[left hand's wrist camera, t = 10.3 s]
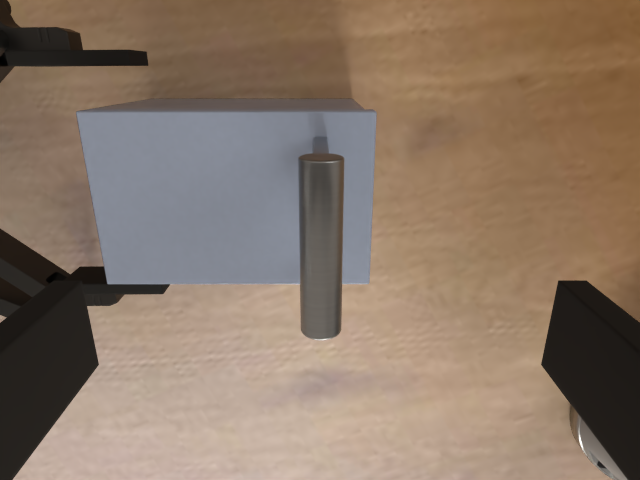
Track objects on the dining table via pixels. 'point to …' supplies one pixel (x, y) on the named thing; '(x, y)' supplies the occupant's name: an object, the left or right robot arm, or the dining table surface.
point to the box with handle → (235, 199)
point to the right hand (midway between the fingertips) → (156, 178)
